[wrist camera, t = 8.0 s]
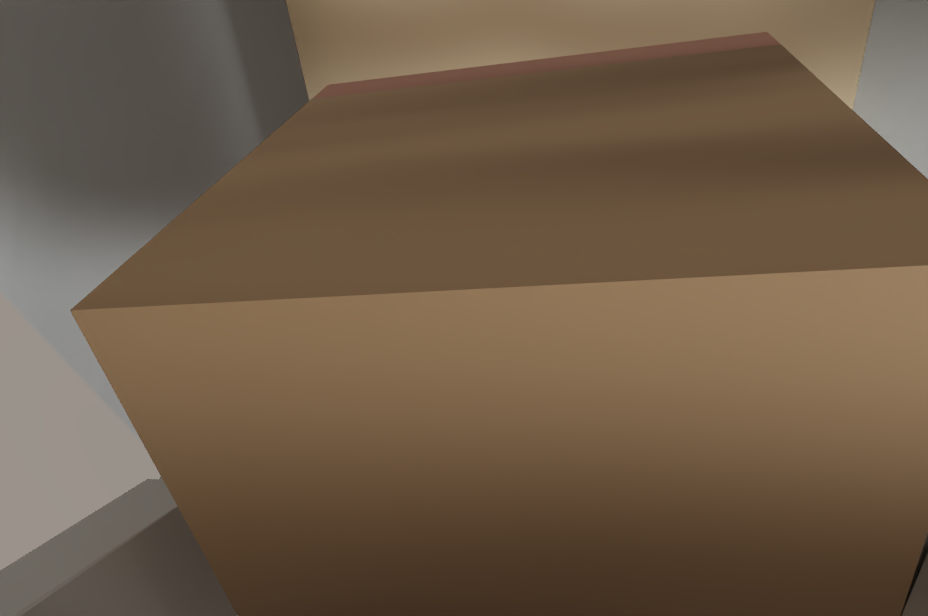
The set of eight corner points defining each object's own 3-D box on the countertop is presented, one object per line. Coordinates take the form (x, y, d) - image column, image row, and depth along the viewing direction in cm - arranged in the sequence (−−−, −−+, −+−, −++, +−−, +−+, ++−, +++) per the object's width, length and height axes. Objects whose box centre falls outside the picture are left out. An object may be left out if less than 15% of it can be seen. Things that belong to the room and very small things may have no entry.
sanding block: (327, 84, 8) (70, 309, 4) (767, 31, 7) (1015, 259, 3) (439, 523, 12) (366, 851, 8) (725, 528, 11) (805, 905, 7)
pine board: (305, -64, 16) (273, -53, 14) (863, -127, 14) (901, -123, 12) (408, 433, 25) (396, 475, 23) (758, 442, 22) (772, 489, 21)
